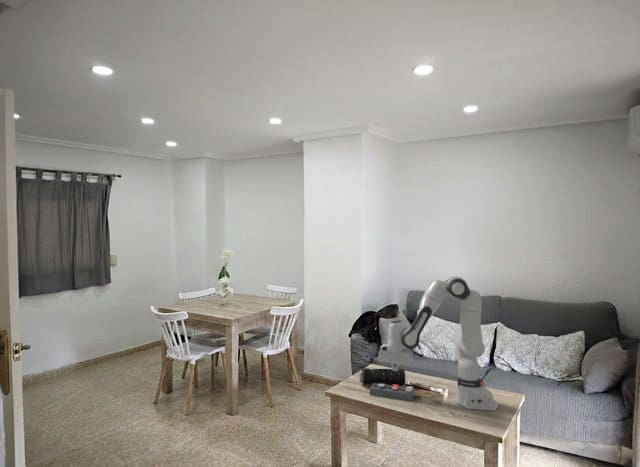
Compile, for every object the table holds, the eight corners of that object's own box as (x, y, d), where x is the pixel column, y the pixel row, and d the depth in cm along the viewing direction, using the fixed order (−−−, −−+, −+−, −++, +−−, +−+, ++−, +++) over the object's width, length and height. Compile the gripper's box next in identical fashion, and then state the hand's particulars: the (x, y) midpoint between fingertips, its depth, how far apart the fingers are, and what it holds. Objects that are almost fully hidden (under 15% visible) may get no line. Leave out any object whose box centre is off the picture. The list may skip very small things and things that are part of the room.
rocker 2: (412, 388, 243) (412, 386, 243) (411, 392, 239) (411, 391, 239) (407, 387, 245) (407, 385, 244) (405, 391, 240) (405, 390, 240)
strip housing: (414, 395, 245) (414, 388, 245) (412, 401, 237) (412, 394, 237) (373, 389, 254) (373, 382, 254) (369, 394, 246) (369, 388, 246)
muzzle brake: (405, 388, 257) (405, 371, 257) (360, 387, 258) (360, 371, 257) (402, 382, 266) (402, 366, 266) (359, 382, 267) (359, 366, 267)
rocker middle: (398, 386, 246) (398, 384, 246) (397, 390, 242) (397, 389, 242) (393, 385, 248) (393, 384, 248) (391, 389, 243) (391, 388, 243)
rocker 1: (385, 385, 249) (385, 384, 250) (383, 387, 245) (383, 385, 245) (379, 384, 251) (379, 383, 251) (377, 386, 246) (377, 384, 246)
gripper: (414, 348, 245) (413, 371, 245) (380, 344, 253) (379, 366, 253) (412, 351, 239) (411, 375, 239) (377, 347, 247) (377, 370, 247)
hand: (395, 370), depth 246 cm, fingers closed
